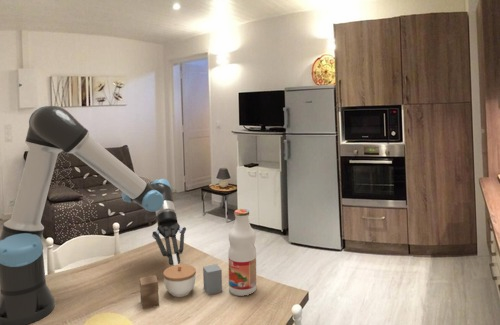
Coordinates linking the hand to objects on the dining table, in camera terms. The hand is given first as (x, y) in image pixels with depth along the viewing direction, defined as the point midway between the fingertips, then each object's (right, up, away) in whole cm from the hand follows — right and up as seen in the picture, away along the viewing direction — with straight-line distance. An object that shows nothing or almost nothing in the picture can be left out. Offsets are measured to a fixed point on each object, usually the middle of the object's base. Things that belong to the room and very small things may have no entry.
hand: (176, 272), depth 126 cm
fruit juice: (+24, -5, -5) cm, 25 cm away
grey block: (+13, -5, -5) cm, 15 cm away
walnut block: (-6, -6, -13) cm, 15 cm away
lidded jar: (+3, -5, -6) cm, 8 cm away
